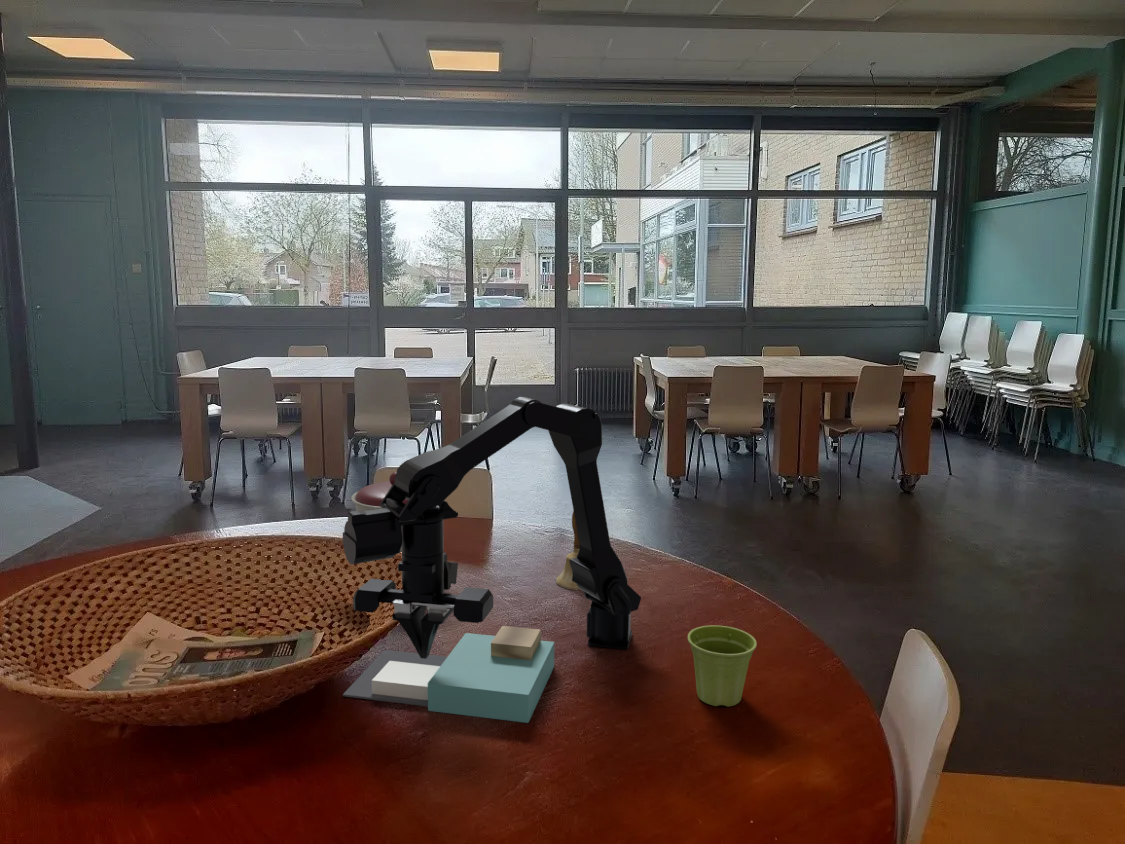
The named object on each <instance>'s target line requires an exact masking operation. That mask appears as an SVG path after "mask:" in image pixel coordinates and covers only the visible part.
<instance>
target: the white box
mask: <svg viewBox="0 0 1125 844" xmlns="http://www.w3.org/2000/svg"><path fill="white" fill-rule="evenodd" d="M439 668H440V666H433V665H424V664H415V663H406V662H397V661H389V662H388V663H387V664H386V665H385V666H384V667H383V669H382V670H381V671H380V672H379V673H378V674H377V675H376V676H375V677H374V678H373V679H372V694H380V695H388V696H396V697H405V698H413V699H421V700H428V682H429V681H430V679H431V678H432V677H433V675H434V674H435V673H436V671H437V670H438V669H439Z"/></svg>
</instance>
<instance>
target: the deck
mask: <svg viewBox="0 0 1125 844" xmlns="http://www.w3.org/2000/svg"><path fill="white" fill-rule="evenodd" d="M495 636H496V635H489V634H478V633H469V632H465V633H464V635H463V636H462V637H461V638H460V640H459V641H458V643H457V644H456V645H455V646H454V648H453V649H452V651H451V652H450V653H449V654H448V655H447V658H446V660H445V661H444V662H443V664H442V665H441V666H440V668H439V669H438V670H437V671H436V673H435V674H434V675H433V677H432V678H431V679H430V681H429V682H428V706H427V711H428V712H437V713H444V714H452V715H460V716H461V715H462V716H469V717H475V718H485V719H491V720H492V719H493V720H501V721H509V722H517V723H525V724H529V722H530V721H531V718H532V716H533V714H534V711H535V709H536V707H537V705H538V703H539V701H540V699H541V696H542V695H543V692H544V690H545V688H546V685H547V683H548V681H549V679H550V676H551V675H552V672H553V670H554V668H555V641H550V640H549V641H548V640H541V642H540V644H539V646H538V648H537V650H536V652H535V654H534V656H533V658H532V659H531V660H525V659H515V658H506V657H496V656H491V642H492V640H493V639H494V637H495Z"/></svg>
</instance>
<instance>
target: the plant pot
mask: <svg viewBox="0 0 1125 844" xmlns="http://www.w3.org/2000/svg"><path fill="white" fill-rule="evenodd" d="M687 641H688V643H689V645H690V649H691V651H692V654H693V664H694V675H695V684H696V685H695V686H696V694H697V697H698V698H699V700H701V702H703V703H705V704H708V705H711V706H713V707H719V706H725V707H733V706H736V705H738V704H739V703H740V702H741V701H742V696H743V692H744V686H745V683H746V677H747V673H748V669H749V665H750V664H749V663H750V660H751V659H752V656H753V652H754V651H755V650H756V649H757V646H758V645H757V644H758V643H757V640H756V638H755V637H754V636H753V635H752V634H750V633H749V632H746V631H745V630H742V629H740V628H736V627H733V626H725V625H715V624H714V625H703V626H697V627H695V628H693V629H691V630H690V631H689V632H688V634H687Z"/></svg>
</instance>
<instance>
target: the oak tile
mask: <svg viewBox="0 0 1125 844" xmlns="http://www.w3.org/2000/svg"><path fill="white" fill-rule="evenodd" d="M541 631H542V629H538V628H530V627H529V628H528V627H517V626H509V625H508V626H507V625H502V626H501V628H499V630H498V632H497V633H496V634H495V635H494V636H495V637H494V639H493V640H492V642H491V656H496V657H506V658H515V659H525V660H531V659H532V658H533V656H534V654H535V652H536V650H537V648H538V646H539V644H540V642H541V641H542V639H541V638H542V635H541V634H542V632H541Z"/></svg>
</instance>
